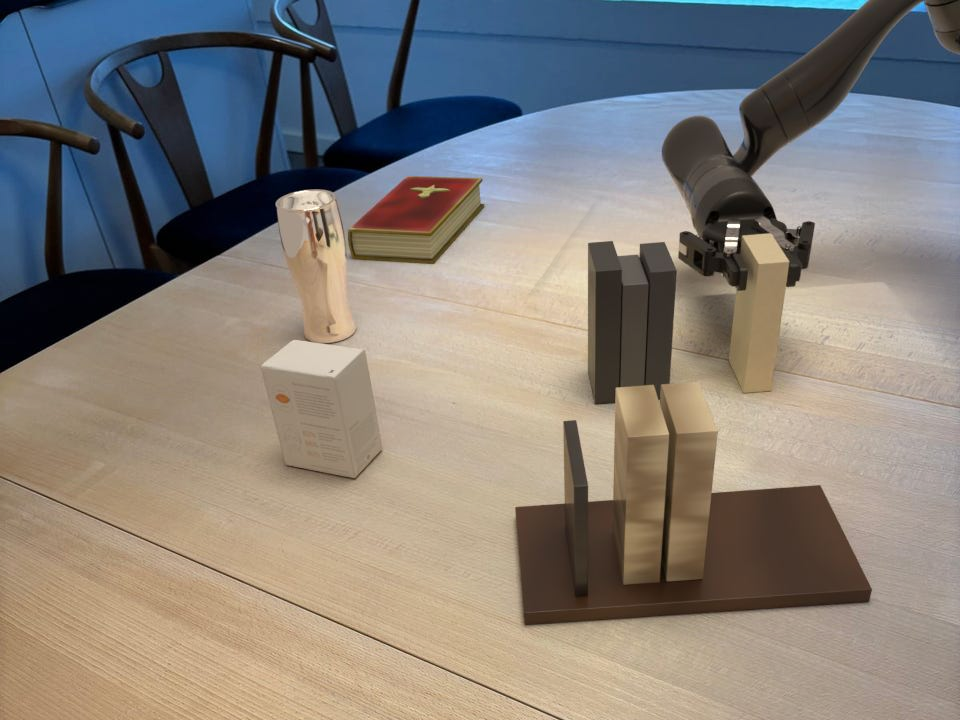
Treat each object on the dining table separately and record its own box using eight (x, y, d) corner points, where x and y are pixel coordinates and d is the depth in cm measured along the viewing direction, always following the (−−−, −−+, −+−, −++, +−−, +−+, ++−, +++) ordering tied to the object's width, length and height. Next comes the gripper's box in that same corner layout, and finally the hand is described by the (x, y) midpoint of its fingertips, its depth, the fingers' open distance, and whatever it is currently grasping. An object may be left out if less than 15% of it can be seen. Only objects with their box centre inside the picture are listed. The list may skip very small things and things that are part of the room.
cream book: (755, 358, 103) (771, 232, 94) (771, 391, 97) (789, 261, 89) (728, 360, 103) (741, 235, 94) (743, 393, 98) (758, 263, 89)
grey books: (658, 366, 103) (665, 236, 94) (668, 398, 98) (677, 264, 89) (587, 371, 103) (587, 242, 94) (594, 404, 98) (595, 271, 89)
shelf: (818, 496, 84) (848, 340, 74) (869, 601, 73) (911, 436, 64) (515, 518, 85) (506, 366, 75) (524, 625, 74) (515, 465, 65)
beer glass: (371, 325, 115) (351, 193, 105) (333, 350, 111) (308, 214, 101) (327, 314, 119) (303, 185, 108) (288, 338, 114) (259, 206, 104)
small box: (384, 450, 95) (367, 348, 87) (355, 480, 91) (335, 377, 84) (314, 436, 97) (293, 337, 90) (283, 465, 94) (258, 364, 87)
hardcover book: (350, 258, 131) (345, 226, 128) (408, 203, 146) (404, 173, 143) (434, 263, 128) (430, 230, 125) (484, 206, 142) (482, 176, 139)
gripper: (664, 182, 101) (694, 244, 89) (802, 170, 101) (853, 231, 88) (660, 254, 106) (688, 323, 94) (792, 244, 106) (838, 311, 93)
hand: (768, 278), depth 91 cm, fingers open, 4 cm apart
